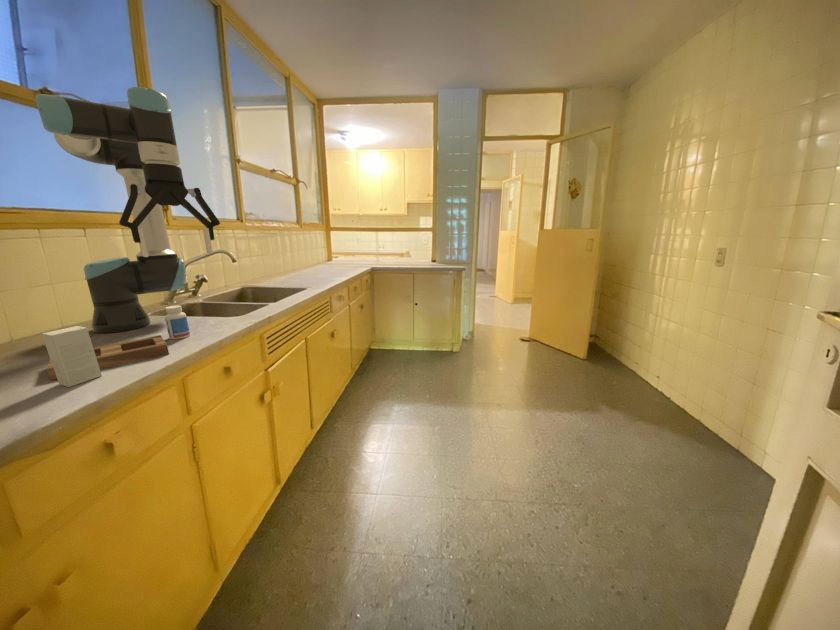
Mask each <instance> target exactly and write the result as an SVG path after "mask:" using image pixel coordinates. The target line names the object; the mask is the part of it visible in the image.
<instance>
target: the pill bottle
mask: <svg viewBox="0 0 840 630" xmlns="http://www.w3.org/2000/svg"><path fill="white" fill-rule="evenodd" d="M165 312H166V314H165V315H164V321H165V326H166V330H167V334H168V337H169V339H171V340H180V339H182V340H183V339H185V338H188V337H189V336H190V335H191V332H190V328H189V323H188V318H187V314H186V313H185V312H183V308H182V305H179V304H177V305H170V306H166V307H165Z"/></svg>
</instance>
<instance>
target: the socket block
mask: <svg viewBox="0 0 840 630" xmlns="http://www.w3.org/2000/svg"><path fill="white" fill-rule="evenodd" d="M93 349H94V352H95V355H96V359H97V362H98V365H99V369H100V370H103V369H106V368H112V367H116V366H120V365H126V364H130V363H135V362H139V361H143V360H148V359H152V358H153V359H154V358H158V357H162V356H166V355H170V351H169V347H168V344H167V342H166V341H165V340H164V339H163V337H162V335H155V336H150V337H149V336H148V337H145V338H144V337H142V338H139V339H135V340H134V339H133V340H129V341H123V342H118V343H117V342H116V343H112V344H106V345H101V346H96V347H93ZM46 370H47V373H48V376H49V379H50V381H52V380H53V381H54V380H56V379H57V376H56V374H55V371H54V368H53V365H52V362H51V359H50V358H49V360H48V365H47V368H46ZM57 380H58V379H57Z"/></svg>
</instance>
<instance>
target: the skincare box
mask: <svg viewBox="0 0 840 630" xmlns="http://www.w3.org/2000/svg"><path fill="white" fill-rule="evenodd" d="M41 336H42V338H43V342H44V344H45V348H46V350H47V353H48V356H49V360H50V359H51V362H52V365H53V368H54V371H55V374H56V376H57V383H58V384H59V385H60V386H63V387H67V388H71V387H74V386H77V385H78V384H82V383H85V382H88V381H91V380H94V379H97V378H99V377H102V373H101V369H99V365H98V362H97V359H96V355H95V352H94V349H93V348H94V345H93V343H92V340H91V336H90V334H89V329H88V327H85V326H79V325H75V326H70V327H66V328H62V329H61V328H60V329H56V330H52V331H48V332H42V333H41Z"/></svg>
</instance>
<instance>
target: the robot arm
mask: <svg viewBox="0 0 840 630" xmlns="http://www.w3.org/2000/svg"><path fill="white" fill-rule="evenodd" d="M126 94H127V95H126V96H127V104H128V107H129V108H127V107H123V106H116V105H110V104H104V103H98V102H91V101H86V100H82V99H75V98H69V97H65V96H61V95H58V94H54V95H53V94H52V95H51V94H46V93H45V94H44V93H37V94H36V95H35V101H36V105H37V109H38V113H39V116H40V120H41V123H42V126H43V128H44V130H45V131H47V132H49V133H53V137H54V139H55V141H56V143H57V145H59V147H61V148H62V149H63V151H64V152H67V153H68V154H70V155H72V156H73V157H76V158H78V159H81V160H84V161H87V162H89V163H94V164H98V165H104V166H105V165H106V166H114V167H115V171H116V173H117V174H119V175H120V176H122V178H123V180H124V185H125V188H126V189H125V190H126V194H127V196H128V197H127V198H128V199H127V201H126V204H125V207H124V208H123V212H122V214H121V217H120V220H119V222H118V224H119V226H122V227H126V228H128V229H130V232H131V235H132V241H134V243H135V244H136V243H138V245H139V249H140V250H139V252H138V253H137V254H136V256H135V257H136V260H131V259H129V257H128V256H123V257H114V258H107V259H102V260H97V261H92V262H89V263H86V264H85V265H84V267H83V271H84V277H85V278H84V280H86V282H87V287H88V290H89V294H90V298H91V301H92V302H91V303H92V304H93V305H92V306H93V314H92V320H91V328H92V332H94V333H98V334H110V333H118V332H121V333H122V332H126V331H131V330H135V329H136V330H137V329H139V328H142V327H146V326H148V325H149V324H150V323H151V319H150V315H149V314H148V313H147V312H146V310H145V309H144V307H143V306H142V304H141V303H140V301H139V297H138V296H139V295H145V294H146V295H147V294H155V293H163V292H172V291H177V290H181V289H183V288H184V286H185V285H186V276H187V275H186V266H185V261H184V259H183V258H182V257H178V253H177V252H175V251H174V250H173V249H172V248H171V244H170V243H171V242H170V239H169V234H168V229H167V225H166V221H165V216H164V215H165V214H164V211H163V207H164V206H165V207H166V206H171V207H178V206H182V208H184V209H185V210H186V211H187V212H189V213H190V214H191V215H192V216H193V217H194V218H196V220H198V221H199V222H200V223H201V224H202V225H203V226H204V227H203V228H202V233H203V238H204V243H205V250H206V253H207V254H213V253H214V252H213V248H212V247H213V246H212V241H214V240H215V233H214V227H216V226H219V225H221V222H220V221H219V219H218V218H217V216H216V214H215V213H214V211H213V210H212V209H211V207H210V206H209V205H208V203H207V202H206V200H205V199H204V198H203V195H202V193H201V189H200V188H199V187H195V188H194V187H193V188H186V186H185V183H184V176H183V170H182V168H181V167H180V166H179V165H180V164H181V161H180V155H179V150H178V145H177V140H176V135H175V134H176V133H175V129H174V123H173V116H172V110H171V107H170V102H169V99H168V97H167V95H165V94H164V93H163V92H161V91H159V90H156V89H154V88H153V89H152V88H148V87H143V86H142V87H140V86H132V87H130V88H128V89H127V90H126ZM188 195H190V196H191V197H192V198H194V199H195V200H196V202H197V204H198V205H199V207H200V208H201V209H202V210H203V212H204V214H205V215H206V216H207V218H208V219H209V220H208V219H207V218H206V217H205V216H204V215H203V214H202V213H200V211H198V209H196V208H195V207H194V206H193V205H192V204H191V203H190V202H189V201H188V200H187V199H185V198H187V196H188ZM131 215H132V218H133V220H132V221H129V219H130V217H131Z"/></svg>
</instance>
